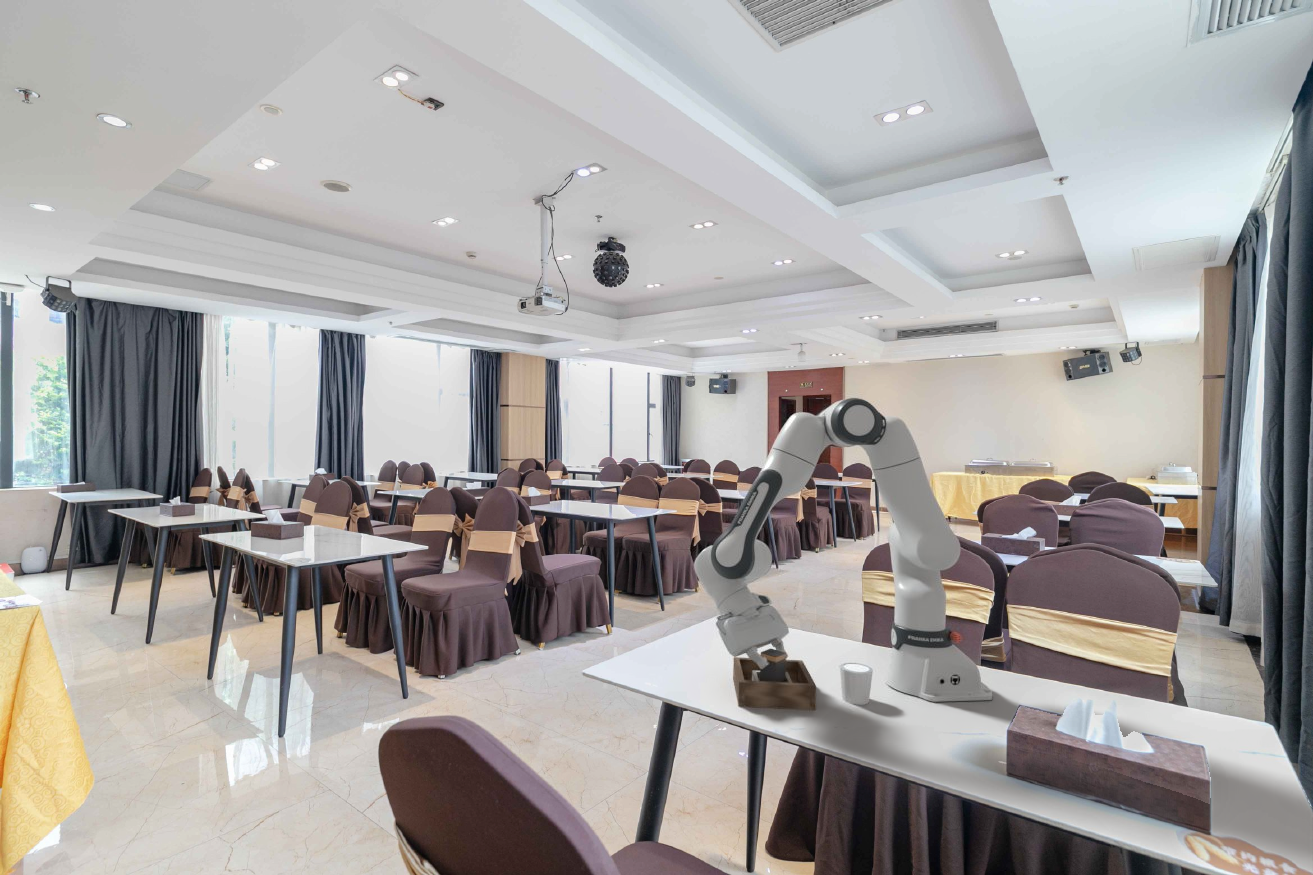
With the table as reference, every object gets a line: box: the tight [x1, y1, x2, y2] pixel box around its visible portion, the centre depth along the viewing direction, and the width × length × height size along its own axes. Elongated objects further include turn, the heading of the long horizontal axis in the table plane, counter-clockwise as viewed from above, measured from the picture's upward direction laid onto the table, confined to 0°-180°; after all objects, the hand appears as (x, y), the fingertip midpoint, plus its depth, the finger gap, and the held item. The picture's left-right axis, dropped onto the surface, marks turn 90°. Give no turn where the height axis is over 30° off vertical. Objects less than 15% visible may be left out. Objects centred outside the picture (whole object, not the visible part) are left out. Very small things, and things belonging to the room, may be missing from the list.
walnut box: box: [732, 656, 817, 711], centre depth 140 cm, size 16×16×5 cm
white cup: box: [839, 662, 873, 706], centre depth 138 cm, size 7×7×7 cm
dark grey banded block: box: [760, 648, 787, 682], centre depth 140 cm, size 4×4×8 cm
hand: (775, 662), depth 140 cm, fingers open, 6 cm apart
